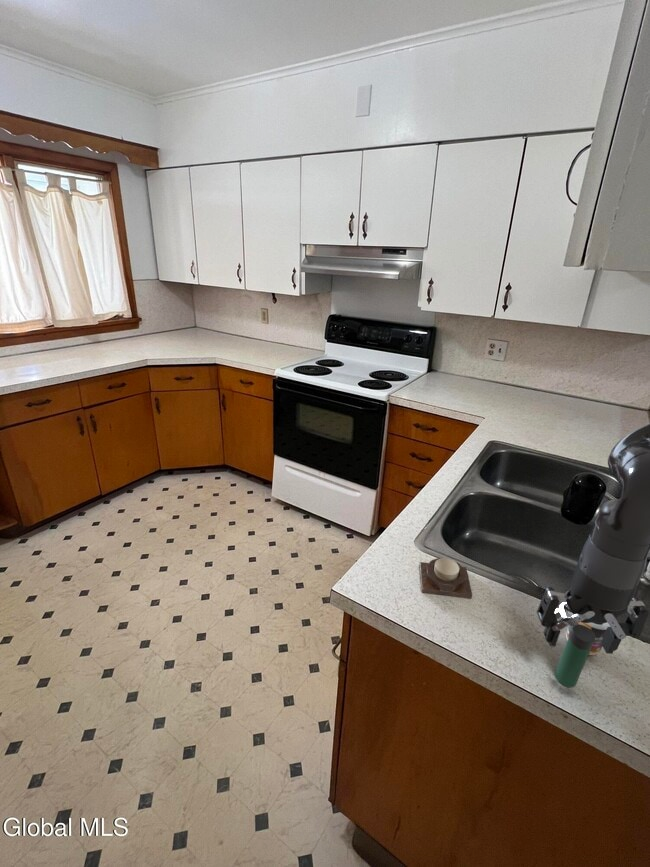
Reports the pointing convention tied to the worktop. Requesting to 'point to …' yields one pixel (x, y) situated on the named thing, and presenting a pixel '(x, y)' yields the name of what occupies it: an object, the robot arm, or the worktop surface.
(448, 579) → the dot pad
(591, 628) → the pill bottle
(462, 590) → the tealight candle holder
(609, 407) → the worktop surface
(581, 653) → the cylinder
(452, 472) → the worktop surface
